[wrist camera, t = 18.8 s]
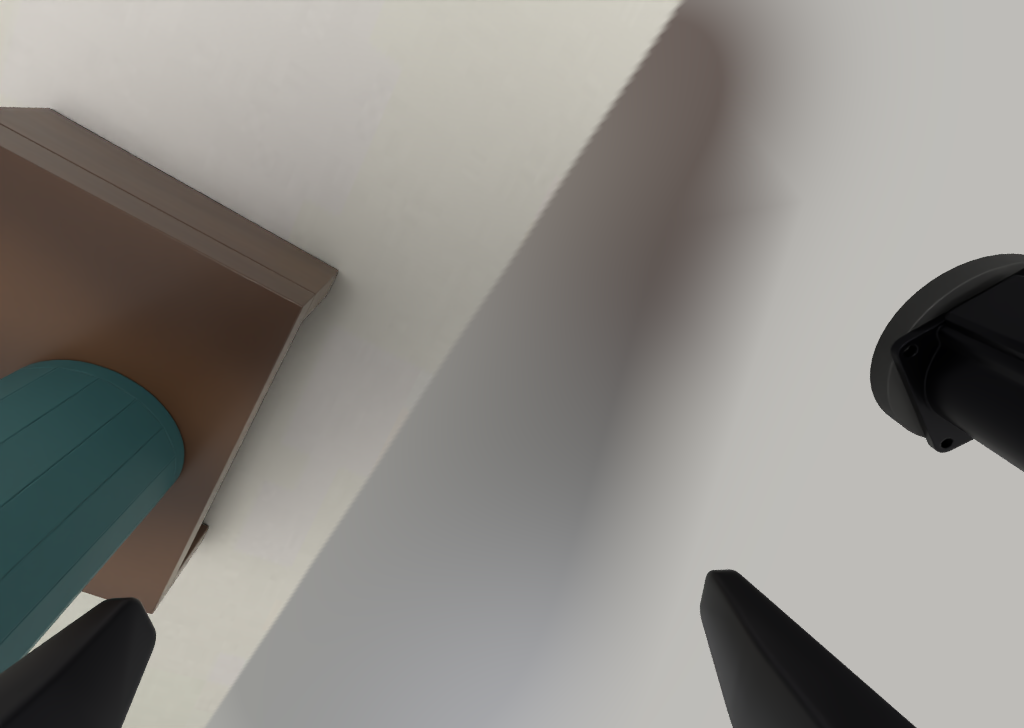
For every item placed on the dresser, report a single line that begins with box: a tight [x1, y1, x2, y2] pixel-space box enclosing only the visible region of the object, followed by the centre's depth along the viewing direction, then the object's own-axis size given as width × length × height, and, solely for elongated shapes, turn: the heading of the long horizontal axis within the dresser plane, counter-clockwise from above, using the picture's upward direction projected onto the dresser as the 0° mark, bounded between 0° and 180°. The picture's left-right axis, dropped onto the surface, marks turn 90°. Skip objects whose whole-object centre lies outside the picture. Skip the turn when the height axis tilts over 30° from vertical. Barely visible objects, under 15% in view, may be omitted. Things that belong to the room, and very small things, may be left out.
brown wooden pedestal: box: [0, 107, 338, 614], centre depth 18 cm, size 16×10×4 cm, turn 147°
